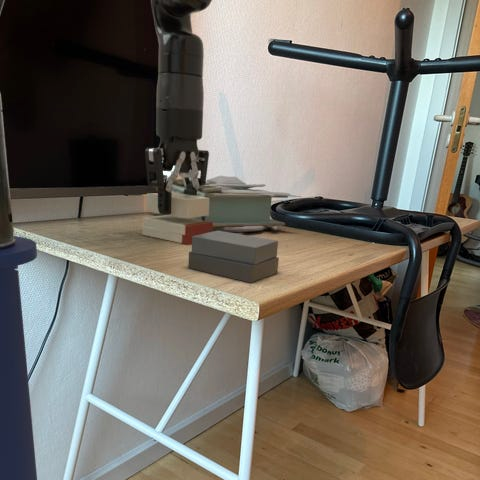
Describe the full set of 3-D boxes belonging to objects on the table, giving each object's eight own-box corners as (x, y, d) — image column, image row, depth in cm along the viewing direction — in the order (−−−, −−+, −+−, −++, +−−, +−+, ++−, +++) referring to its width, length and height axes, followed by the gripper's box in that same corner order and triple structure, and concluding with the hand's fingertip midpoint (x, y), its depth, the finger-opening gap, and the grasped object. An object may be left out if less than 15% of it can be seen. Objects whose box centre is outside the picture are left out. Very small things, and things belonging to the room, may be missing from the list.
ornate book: (145, 216, 111) (202, 236, 86) (145, 172, 108) (203, 180, 83) (232, 215, 122) (304, 233, 97) (234, 175, 119) (309, 183, 94)
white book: (187, 218, 80) (187, 199, 79) (146, 211, 84) (146, 193, 83) (208, 215, 84) (209, 197, 83) (169, 208, 89) (169, 191, 88)
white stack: (186, 244, 80) (187, 226, 79) (140, 235, 85) (140, 217, 84) (212, 239, 86) (213, 222, 85) (168, 230, 91) (168, 214, 90)
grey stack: (250, 283, 61) (253, 248, 59) (187, 267, 66) (189, 235, 64) (278, 272, 67) (281, 241, 65) (218, 259, 72) (220, 229, 70)
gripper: (189, 110, 86) (186, 206, 92) (130, 102, 74) (131, 212, 80) (224, 111, 82) (219, 212, 88) (168, 103, 71) (166, 219, 77)
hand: (177, 212), depth 84 cm, fingers closed on white book, 6 cm apart
